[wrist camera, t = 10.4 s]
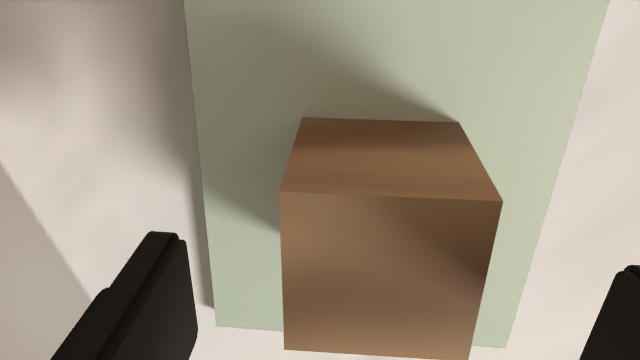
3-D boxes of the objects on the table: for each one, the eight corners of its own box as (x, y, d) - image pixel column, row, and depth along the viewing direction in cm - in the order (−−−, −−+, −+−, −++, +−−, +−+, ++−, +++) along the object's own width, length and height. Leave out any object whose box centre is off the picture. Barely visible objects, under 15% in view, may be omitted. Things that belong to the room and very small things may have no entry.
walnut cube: (302, 117, 15) (279, 191, 10) (459, 122, 15) (503, 201, 10) (303, 244, 17) (284, 350, 13) (438, 251, 17) (467, 361, 12)
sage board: (188, -43, 14) (179, -42, 13) (603, -28, 13) (617, -27, 12) (221, 312, 20) (216, 326, 19) (500, 333, 20) (505, 348, 19)
